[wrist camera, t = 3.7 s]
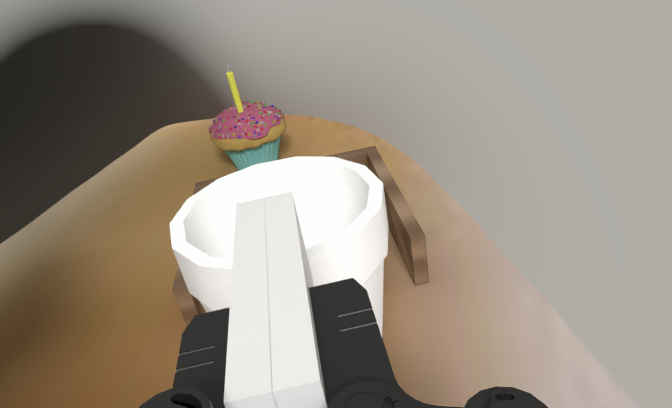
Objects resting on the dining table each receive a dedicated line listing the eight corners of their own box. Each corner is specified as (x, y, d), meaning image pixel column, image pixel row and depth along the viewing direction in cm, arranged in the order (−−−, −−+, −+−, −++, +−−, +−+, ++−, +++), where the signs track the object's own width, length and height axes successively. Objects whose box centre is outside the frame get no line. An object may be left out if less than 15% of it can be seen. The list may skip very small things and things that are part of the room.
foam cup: (444, 390, 28) (428, 183, 22) (324, 523, 23) (258, 304, 17) (326, 319, 34) (287, 143, 28) (211, 411, 29) (132, 222, 23)
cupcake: (291, 174, 55) (267, 63, 49) (214, 186, 55) (180, 78, 49) (294, 143, 62) (272, 44, 56) (225, 154, 63) (197, 57, 57)
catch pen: (429, 282, 36) (425, 235, 34) (190, 334, 35) (172, 290, 33) (379, 183, 50) (375, 146, 48) (207, 219, 49) (195, 182, 47)
